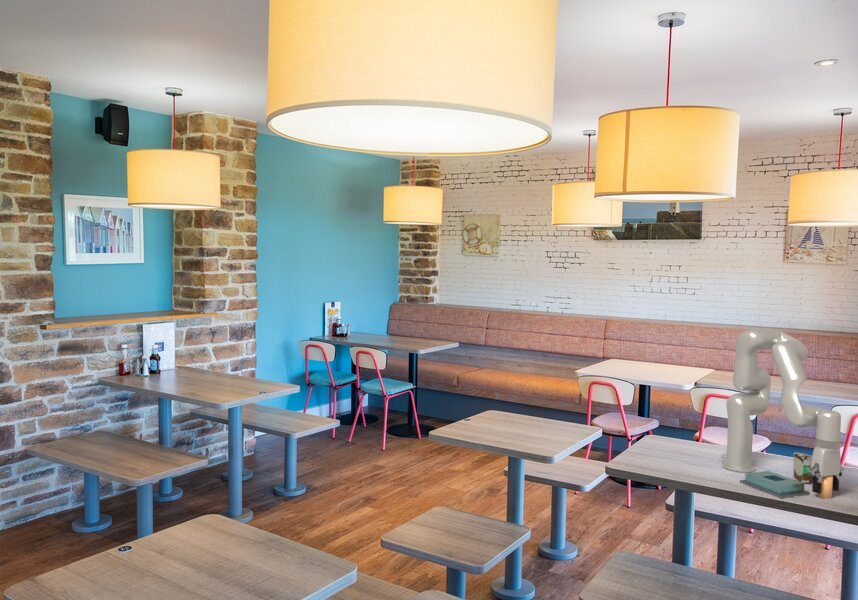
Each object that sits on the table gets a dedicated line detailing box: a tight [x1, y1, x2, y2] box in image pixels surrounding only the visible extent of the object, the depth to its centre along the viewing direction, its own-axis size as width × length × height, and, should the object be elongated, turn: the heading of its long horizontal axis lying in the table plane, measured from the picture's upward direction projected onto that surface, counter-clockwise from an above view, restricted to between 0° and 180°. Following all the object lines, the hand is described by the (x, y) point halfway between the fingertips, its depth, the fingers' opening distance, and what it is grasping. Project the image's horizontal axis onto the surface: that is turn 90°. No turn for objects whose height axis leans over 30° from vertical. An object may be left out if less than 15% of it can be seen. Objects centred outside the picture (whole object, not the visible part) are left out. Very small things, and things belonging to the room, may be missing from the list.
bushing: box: [817, 476, 833, 499], centre depth 246 cm, size 4×4×8 cm
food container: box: [792, 451, 813, 485], centre depth 265 cm, size 12×6×10 cm, turn 168°
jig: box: [739, 470, 811, 499], centre depth 254 cm, size 19×14×4 cm
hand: (825, 491), depth 246 cm, fingers open, 8 cm apart
